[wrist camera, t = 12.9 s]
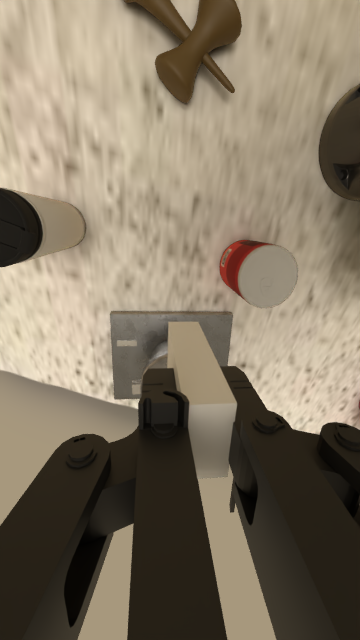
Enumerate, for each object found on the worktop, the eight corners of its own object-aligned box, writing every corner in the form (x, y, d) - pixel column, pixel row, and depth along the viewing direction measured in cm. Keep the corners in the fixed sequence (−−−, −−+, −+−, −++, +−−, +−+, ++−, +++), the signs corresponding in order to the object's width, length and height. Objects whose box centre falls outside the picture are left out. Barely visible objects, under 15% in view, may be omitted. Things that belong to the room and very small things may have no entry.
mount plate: (230, 312, 46) (244, 328, 39) (221, 391, 52) (233, 418, 45) (111, 311, 44) (104, 328, 37) (115, 394, 49) (109, 422, 42)
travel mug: (82, 254, 41) (23, 281, 22) (36, 238, 39) (-68, 252, 21) (93, 213, 39) (40, 204, 20) (46, 194, 37) (-58, 166, 19)
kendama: (131, -85, 30) (254, 69, 35) (81, 1, 32) (204, 133, 37) (123, -156, 24) (271, 39, 29) (64, -46, 26) (212, 118, 32)
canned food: (224, 295, 45) (246, 316, 35) (212, 248, 42) (232, 257, 32) (268, 280, 45) (303, 297, 35) (258, 232, 42) (293, 236, 32)
